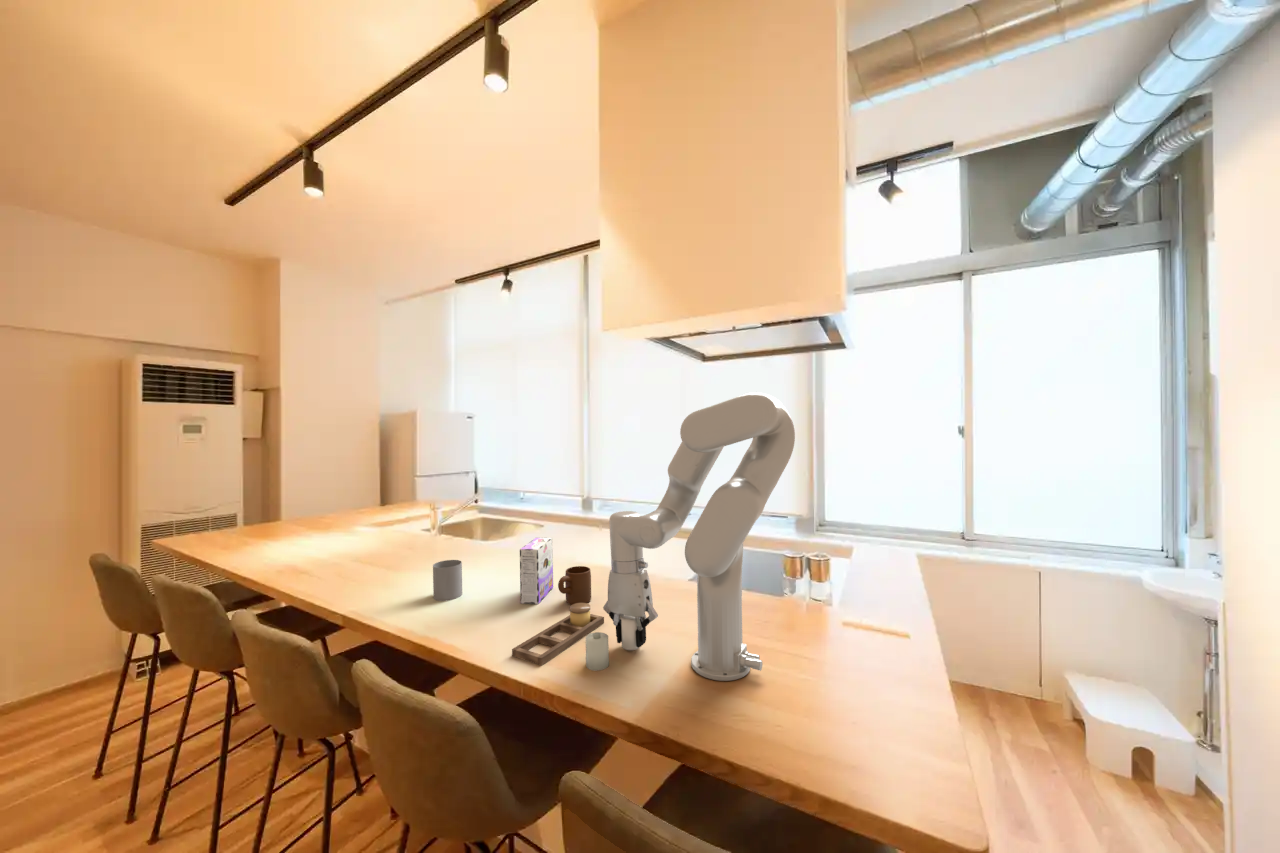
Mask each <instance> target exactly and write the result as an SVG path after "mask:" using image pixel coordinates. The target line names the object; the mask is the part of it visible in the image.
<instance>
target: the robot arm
mask: <svg viewBox="0 0 1280 853" xmlns="http://www.w3.org/2000/svg"><path fill="white" fill-rule="evenodd" d="M679 429H680V432H679V435H680V439H681V442H680V445H679V446H678V448H677V450H676V452H675V454H674V455H673V456H672V459H671V461H670V463H669V464H668V466H667V475H668V479H669V481H668V487H667V488H666V492H665V494H664V496H663V497H662V499H661V501H660V502H659V505H658V506H657V507H656V509H655V510H653V511H651V512H650V513H647V514H644V515H641V514H640V513H638V512H636V511H632V510H631V511H630V510H624V511H623V510H622V511H616V512H614V513H612V514H611V515H610V517H609V521H608V523H609V525H608V526H609V541H610V560H611V564H610V565H611V569H610V570H609V574H608V579H607V580H608V581H607V582H608V583H607V600H606V602H605V603H604V605H603V607H602V608H603V611H605V613H606V614H607V615H609V616H608V617H609V618H610V619H611V620H612V621H613V622H612V623H613V626H615V636H616V643H617V644H622V629H621V619H619V618H620V615H627V616H633V617H635V620H636V624H637V628H638V629H637V630H636V646H637V647H639V648H638V649H640V648H641V647H642V646H643V645H645V644H646V641H647V629H646V628H647V626H648V625H649V624H650V623H651V622H652V621H654V620H655V619H657V618H659V614H658V612H657V611H656V610H655V608H654V606H653V605H654V604H653V594H652V587H651V580H650V577H649V573H648V570H647V569H648V567H649V563H648V562H647V561H644V560H645V558H644V549H650V550H653V549H657V548H660V547H662V546H663V545H665V544H666V543H668V541H670V540H671V539H672V538H674V537H676V535H677V534H678V533H679V532H680V530H681V528H682V527H683V525H684V523H685V522H686V521H687V518H688V516H689V515H690V513H691V511H692V510H693V507H694V506H695V503H696V501H697V499H698V496H699V494H700V492H701V489H702V486H703V484H704V483H705V480H706V479H707V477H708V475H710V472H711V470H712V468H713V467H714V465H715V462H717V461H718V460H717V459H718V458H719V456H720V454H721V453H722V451H723V449H724V447H727V446H730V445H733V444H738V443H740V442H743V441H746V440H752V441H751V443H750V445H749V447H748V449H747V450H746V451H745V452H744V455H743V456H742V459H741V461H740V463H739V464H738V466H737V468H736V470H735V471H734V472H733V474H732V476H731V478H729V480H727V482H725V483H724V484H722V485H721V486H719V487H718V488H717V489H716V490H715V491H714V492H713V494H712V495H711V497H710V498H709V500H708V501H707V504H706V505H705V506H704V509H703V510H702V512H701V514H700V516H699V518H698V519H697V521H696V523H695V525H694V527H693V528H692V530H691V532H690V534H689V535H688V538H687V540H686V542H685V545H684V557H685V561H686V564H687V566H688V567H689V569H690V570H691V571H692V572H694V573H695V574H696V575H697V579H696V580H697V582H696V584H697V585H696V586H697V588H696V591H697V594H696V596H697V597H696V600H697V604H696V605H697V606H696V607H697V650H696V651H695V652H694V653H693V654H692V656H691V657H690V663H691V664H690V665H691V667H692V669H693V670H694V672H696V674H698V675H700V676H701V677H704V678H706V679H709V680H714V681H721V682H724V681H725V682H729V681H735V680H739V679H742V678H744V677H745V676H747V675H748V674H749V672H750V670H751V669H752V670H757V671H760V672H761V671H762V669H763V660H761V659H760V655H759V654H756V653H751V652H749V651H748V646H747V644H746V643H743V598H742V597H743V563H744V562H743V561H744V560H743V559H744V541H745V540H746V538H747V537H748V535H749V533H750V532H751V530H752V528H753V527H754V525H755V523H756V522H757V520H758V519H759V518H760V517H761V515H762V513H763V511H764V509H765V507H766V504H767V503H768V500H769V498H770V496H771V494H772V493H773V491H774V489H775V488H776V485H777V484H778V482H779V481H780V478H781V477H782V475H783V472H785V469H786V467H787V465H788V463H789V462H790V459H791V457H792V454H793V451H794V448H795V443H796V442H795V441H796V432H795V425H794V423H793V420H792V417H791V415H790V413H789V411H788V410H787V408H786V407H785V406H784V405H783V403H782V402H781V401H780V400H779V399H777V398H776V397H775V396H772V395H770V394H767V393H763V392H757V391H756V392H749V393H748V392H746V393H744V394H742V395H738V396H735V397H732V398H729V399H728V400H724V401H722V402H718V403H716V404H714V405H711V406H707V407H705V408H701V409H698V410H695V411H693V412H691V413H689V414H688V415H687V416H685V418H684V419H683V421H682V423H681V426H680V428H679ZM643 548H644V549H643ZM646 612H647V614H648V616H647V614H646Z"/></svg>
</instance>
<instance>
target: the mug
mask: <svg viewBox="0 0 1280 853" xmlns="http://www.w3.org/2000/svg"><path fill="white" fill-rule="evenodd" d="M591 571H592V570H591V568H590V567H588V566H586V565H585V566H583V565H578V566H577V565H576V566H571V567H568V568H566V569H565V573H564V574H565V575H564V576H561V577H560V579H559V581H558V583H557V586H558V588H557V589H558V590H559V592H560V594H564V595H565V603H567V604H568V605H570V606H571V605H573V604H575V603H588V604H589V603H590V602H591V600H592V574H591Z"/></svg>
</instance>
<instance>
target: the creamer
mask: <svg viewBox="0 0 1280 853" xmlns="http://www.w3.org/2000/svg"><path fill="white" fill-rule="evenodd" d="M619 619H621V629H622V642H621V647H622V649H624V650H626V651H634V650H638V649H640V648H639V647H637V646H636V630H637V629H638V628H637V624H636V620H635V617H633V616H627V615H620V618H619Z"/></svg>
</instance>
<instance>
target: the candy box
mask: <svg viewBox="0 0 1280 853" xmlns="http://www.w3.org/2000/svg"><path fill="white" fill-rule="evenodd" d="M553 558H554V557H553V537H535V538H533V539H532V540H531V541H529V542H528V543H526V544H525V545H524V546H522V547H521V548H520V549H519V577H520V578H519V579H520V580H519V582H520V583H519V584H520V586H519V588H520V589H519V590H520V594H519V595H520V597H519V598H520V604H523V605H524V604H525V605H539V604H540V603H541V602H542V601H543V600H544V599H545V597H546V596H547V595H549V593H550V591H551V590H552V589H553V588H554V561H553V560H554V559H553Z"/></svg>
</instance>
